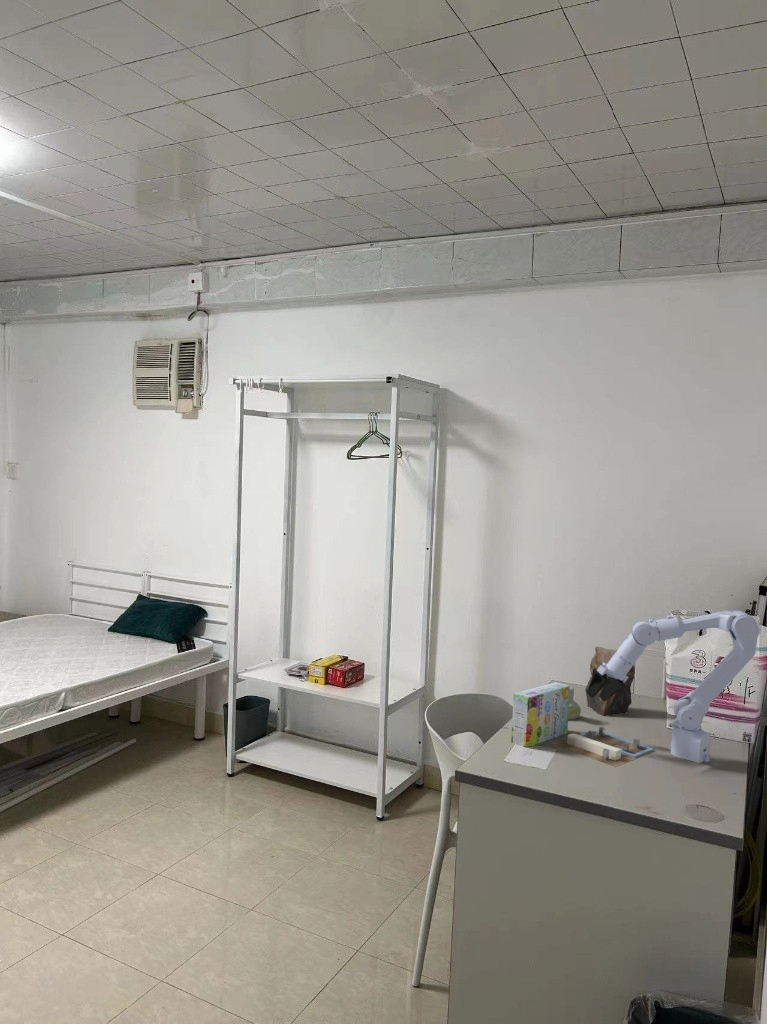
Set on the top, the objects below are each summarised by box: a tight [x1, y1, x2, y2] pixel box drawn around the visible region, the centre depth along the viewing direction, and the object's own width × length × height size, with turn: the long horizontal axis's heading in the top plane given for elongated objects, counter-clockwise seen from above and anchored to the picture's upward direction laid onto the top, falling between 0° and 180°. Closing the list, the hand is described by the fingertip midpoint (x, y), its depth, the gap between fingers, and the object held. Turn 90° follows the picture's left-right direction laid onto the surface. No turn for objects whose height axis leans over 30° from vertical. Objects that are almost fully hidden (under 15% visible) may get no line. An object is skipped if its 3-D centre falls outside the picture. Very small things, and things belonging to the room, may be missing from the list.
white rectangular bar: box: [567, 733, 621, 760], centre depth 206 cm, size 15×3×2 cm, turn 42°
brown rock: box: [585, 646, 636, 717], centre depth 249 cm, size 13×13×20 cm
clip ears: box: [567, 726, 641, 760], centre depth 210 cm, size 12×17×2 cm
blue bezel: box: [577, 729, 654, 758], centre depth 213 cm, size 19×10×1 cm, turn 42°
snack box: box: [510, 681, 571, 748], centre depth 215 cm, size 21×6×15 cm, turn 134°
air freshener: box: [568, 685, 582, 720], centre depth 237 cm, size 11×8×10 cm
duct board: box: [550, 733, 656, 768], centre depth 210 cm, size 20×21×1 cm
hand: (595, 697), depth 213 cm, fingers open, 7 cm apart
